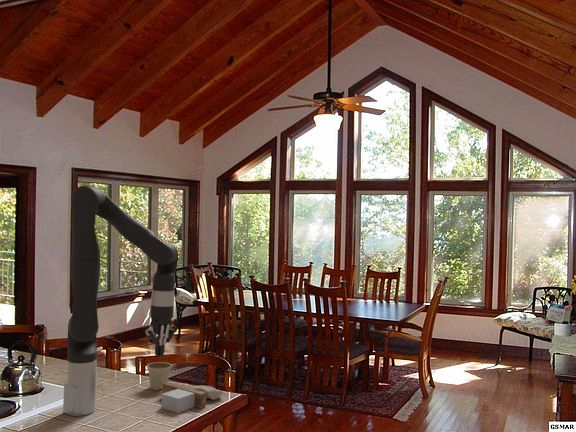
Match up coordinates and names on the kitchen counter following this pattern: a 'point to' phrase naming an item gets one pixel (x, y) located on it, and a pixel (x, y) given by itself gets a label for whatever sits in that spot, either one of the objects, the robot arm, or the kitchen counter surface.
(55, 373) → the kitchen counter surface
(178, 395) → the block
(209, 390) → the fossil
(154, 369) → the flower pot
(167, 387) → the board
